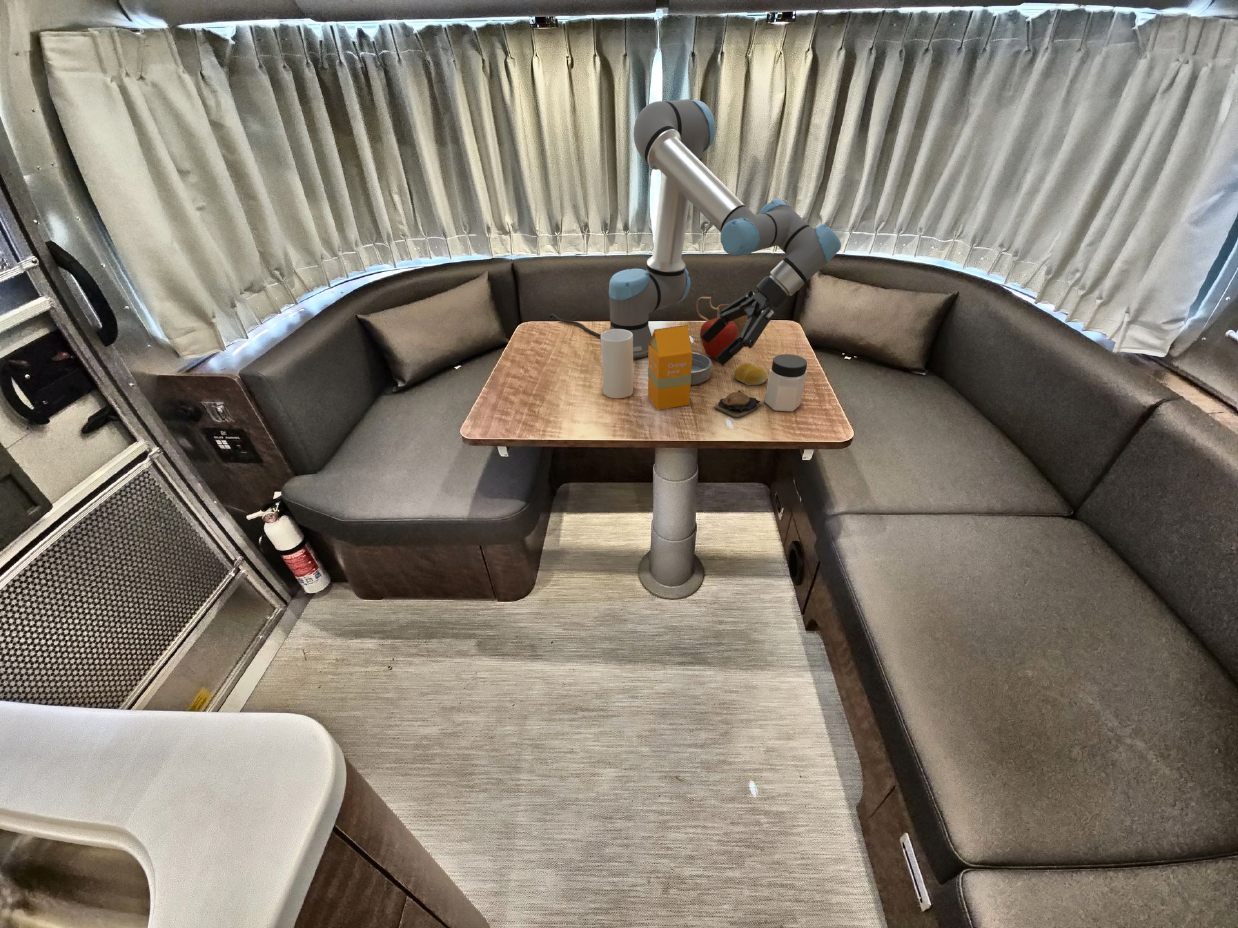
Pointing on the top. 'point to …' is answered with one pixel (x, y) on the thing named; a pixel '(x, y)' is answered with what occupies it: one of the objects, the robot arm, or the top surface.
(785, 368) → the jar
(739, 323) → the mug
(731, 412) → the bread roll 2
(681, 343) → the orange juice
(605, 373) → the cup
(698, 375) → the pan
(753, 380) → the bread roll
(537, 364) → the top surface
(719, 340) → the apple
